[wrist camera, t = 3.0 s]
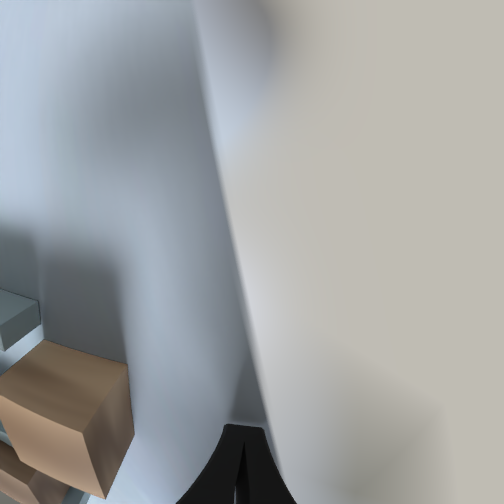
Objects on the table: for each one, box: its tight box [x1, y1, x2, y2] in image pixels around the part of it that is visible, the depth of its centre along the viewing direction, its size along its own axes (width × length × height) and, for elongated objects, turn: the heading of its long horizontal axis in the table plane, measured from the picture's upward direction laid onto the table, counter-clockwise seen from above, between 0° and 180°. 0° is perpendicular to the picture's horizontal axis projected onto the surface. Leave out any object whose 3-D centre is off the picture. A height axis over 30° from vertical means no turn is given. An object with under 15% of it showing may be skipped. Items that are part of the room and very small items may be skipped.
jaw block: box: [0, 340, 135, 500], centre depth 9 cm, size 4×4×4 cm
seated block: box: [0, 440, 70, 504], centre depth 10 cm, size 4×4×4 cm
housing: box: [0, 289, 90, 504], centre depth 10 cm, size 14×6×2 cm, turn 172°
